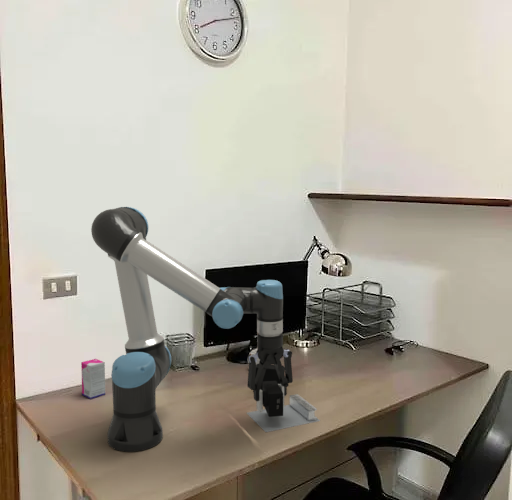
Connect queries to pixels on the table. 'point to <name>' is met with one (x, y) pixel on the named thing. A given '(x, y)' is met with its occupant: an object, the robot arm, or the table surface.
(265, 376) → the electronic device
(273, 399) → the digital camera
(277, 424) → the mounting plate
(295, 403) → the rail
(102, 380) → the supplement box
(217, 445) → the table surface
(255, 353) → the decorative ornament
